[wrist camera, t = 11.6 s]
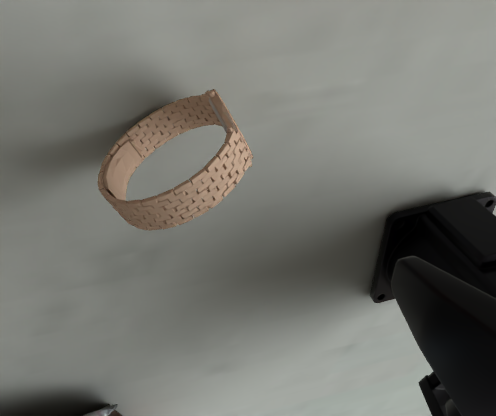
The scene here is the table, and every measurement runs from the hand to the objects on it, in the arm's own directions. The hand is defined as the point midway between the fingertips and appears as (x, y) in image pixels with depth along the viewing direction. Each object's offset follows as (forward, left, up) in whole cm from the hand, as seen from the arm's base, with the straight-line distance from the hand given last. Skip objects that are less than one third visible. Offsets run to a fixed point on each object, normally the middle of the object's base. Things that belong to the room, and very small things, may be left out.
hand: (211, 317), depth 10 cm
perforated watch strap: (0, 0, -9) cm, 9 cm away
